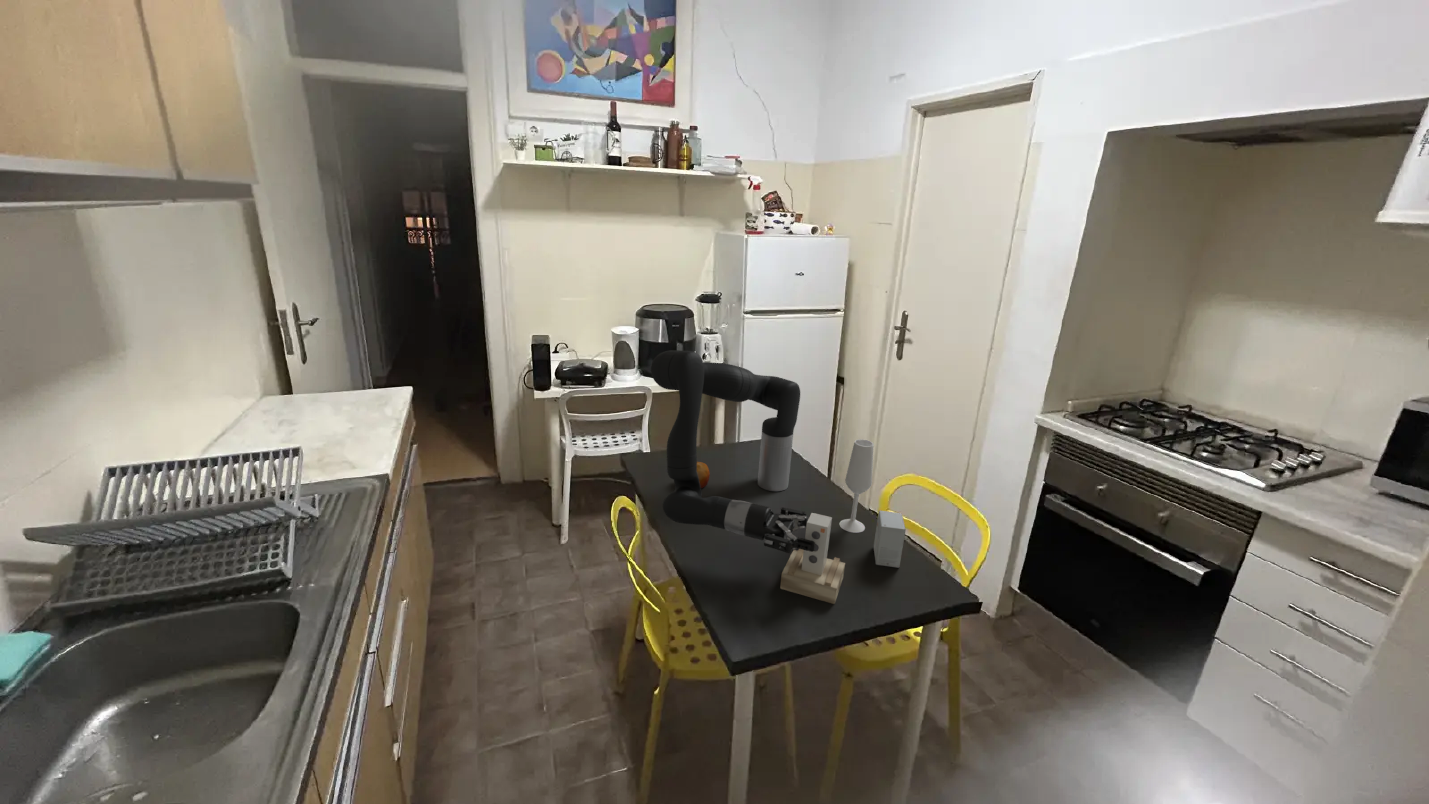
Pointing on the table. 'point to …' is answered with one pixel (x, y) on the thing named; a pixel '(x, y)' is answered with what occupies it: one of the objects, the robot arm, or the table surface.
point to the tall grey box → (817, 543)
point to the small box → (889, 539)
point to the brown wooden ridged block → (813, 578)
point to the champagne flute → (858, 479)
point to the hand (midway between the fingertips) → (818, 536)
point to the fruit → (703, 474)
